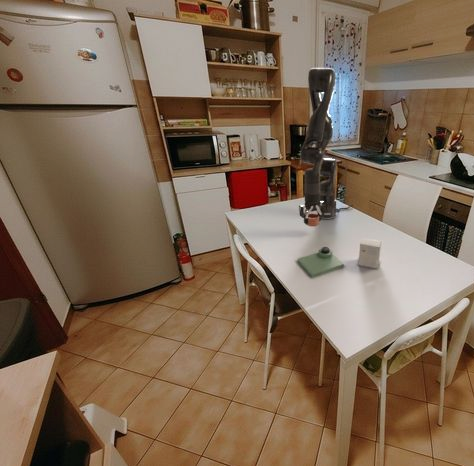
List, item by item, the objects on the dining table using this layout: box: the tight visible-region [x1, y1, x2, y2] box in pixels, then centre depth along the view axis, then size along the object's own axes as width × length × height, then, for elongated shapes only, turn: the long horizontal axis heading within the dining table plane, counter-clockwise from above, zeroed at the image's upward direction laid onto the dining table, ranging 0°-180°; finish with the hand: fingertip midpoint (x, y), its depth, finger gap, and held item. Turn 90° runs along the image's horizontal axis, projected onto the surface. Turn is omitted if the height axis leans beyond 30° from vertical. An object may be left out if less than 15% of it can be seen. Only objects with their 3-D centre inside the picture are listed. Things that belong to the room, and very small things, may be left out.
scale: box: [297, 247, 345, 278], centre depth 110 cm, size 15×13×3 cm
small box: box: [358, 237, 382, 269], centre depth 109 cm, size 8×6×10 cm
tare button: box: [321, 246, 330, 254], centre depth 114 cm, size 3×3×2 cm
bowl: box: [307, 212, 320, 227], centre depth 131 cm, size 6×6×4 cm
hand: (312, 222), depth 132 cm, fingers closed on bowl, 6 cm apart
